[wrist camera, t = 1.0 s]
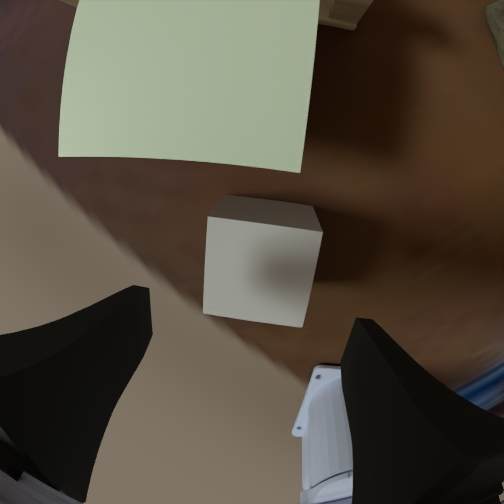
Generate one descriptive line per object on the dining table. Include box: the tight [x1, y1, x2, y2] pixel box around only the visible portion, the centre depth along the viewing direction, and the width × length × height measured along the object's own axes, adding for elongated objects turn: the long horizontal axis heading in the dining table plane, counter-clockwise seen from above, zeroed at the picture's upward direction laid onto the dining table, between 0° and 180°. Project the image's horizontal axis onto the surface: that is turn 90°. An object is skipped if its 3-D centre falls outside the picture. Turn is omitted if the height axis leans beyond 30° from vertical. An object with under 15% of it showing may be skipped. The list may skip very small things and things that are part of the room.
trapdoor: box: [59, 0, 320, 173], centre depth 8 cm, size 12×10×1 cm
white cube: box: [203, 195, 323, 327], centre depth 16 cm, size 5×5×5 cm
